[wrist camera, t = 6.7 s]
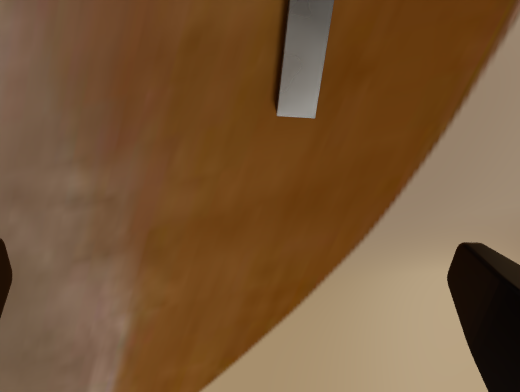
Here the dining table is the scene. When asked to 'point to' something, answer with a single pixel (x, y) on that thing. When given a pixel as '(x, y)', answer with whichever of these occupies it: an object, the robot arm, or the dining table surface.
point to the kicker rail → (303, 57)
